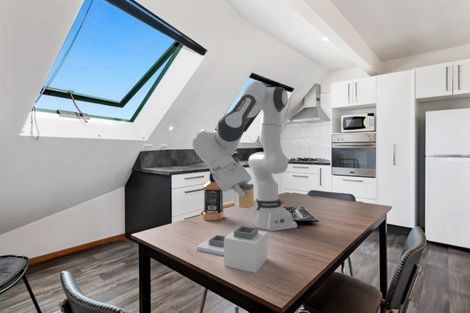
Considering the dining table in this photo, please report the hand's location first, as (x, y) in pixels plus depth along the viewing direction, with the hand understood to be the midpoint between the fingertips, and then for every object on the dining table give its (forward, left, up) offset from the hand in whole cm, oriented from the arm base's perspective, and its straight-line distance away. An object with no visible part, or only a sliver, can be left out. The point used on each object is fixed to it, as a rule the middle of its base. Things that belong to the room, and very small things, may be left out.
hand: (247, 194), depth 92 cm
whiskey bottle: (+8, -59, -25) cm, 65 cm away
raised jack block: (+1, 0, -25) cm, 25 cm away
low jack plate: (+9, -16, -25) cm, 31 cm away
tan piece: (+1, 0, -5) cm, 5 cm away
